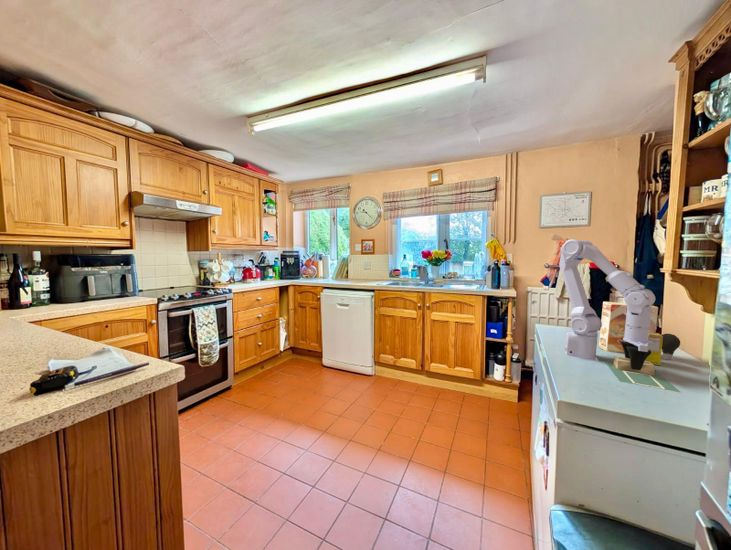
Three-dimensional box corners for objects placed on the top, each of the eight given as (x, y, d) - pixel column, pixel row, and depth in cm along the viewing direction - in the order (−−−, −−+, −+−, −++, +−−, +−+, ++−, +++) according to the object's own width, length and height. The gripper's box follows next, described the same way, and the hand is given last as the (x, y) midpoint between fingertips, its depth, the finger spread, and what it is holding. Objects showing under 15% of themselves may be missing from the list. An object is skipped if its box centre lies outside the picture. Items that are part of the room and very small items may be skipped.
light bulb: (680, 364, 103) (683, 337, 102) (658, 361, 106) (661, 334, 105) (674, 359, 108) (677, 333, 107) (654, 356, 110) (656, 330, 110)
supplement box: (655, 362, 104) (658, 332, 103) (660, 367, 99) (663, 336, 98) (633, 358, 107) (636, 330, 107) (636, 363, 102) (640, 333, 102)
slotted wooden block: (617, 369, 95) (618, 360, 95) (613, 364, 99) (614, 355, 99) (654, 375, 91) (655, 365, 91) (648, 370, 95) (649, 361, 95)
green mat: (619, 383, 86) (619, 380, 86) (604, 363, 102) (604, 361, 102) (680, 394, 80) (680, 391, 80) (654, 371, 96) (654, 369, 96)
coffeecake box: (606, 352, 114) (611, 303, 112) (597, 347, 120) (602, 301, 119) (653, 357, 109) (659, 306, 108) (642, 351, 116) (647, 303, 115)
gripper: (663, 333, 86) (658, 377, 87) (645, 323, 99) (641, 362, 100) (632, 329, 89) (628, 372, 90) (618, 320, 102) (615, 358, 103)
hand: (633, 366), depth 95 cm, fingers closed on slotted wooden block, 4 cm apart
